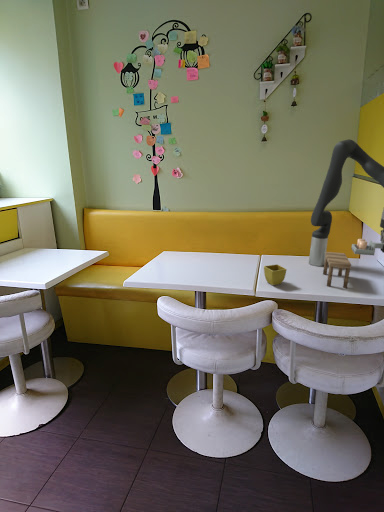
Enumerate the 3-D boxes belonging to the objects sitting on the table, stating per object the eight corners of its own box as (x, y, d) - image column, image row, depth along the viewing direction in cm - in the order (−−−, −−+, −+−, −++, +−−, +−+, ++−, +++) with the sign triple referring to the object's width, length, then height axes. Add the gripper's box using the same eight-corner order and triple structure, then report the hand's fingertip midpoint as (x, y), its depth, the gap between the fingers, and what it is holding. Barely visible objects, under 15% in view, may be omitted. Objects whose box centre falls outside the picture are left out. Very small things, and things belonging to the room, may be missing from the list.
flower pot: (262, 281, 185) (263, 265, 182) (276, 279, 188) (277, 264, 185) (271, 287, 177) (272, 271, 174) (285, 285, 180) (287, 269, 177)
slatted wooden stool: (322, 273, 197) (325, 251, 193) (341, 275, 195) (344, 253, 191) (326, 286, 179) (330, 262, 175) (347, 288, 177) (351, 264, 173)
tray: (351, 248, 185) (353, 237, 183) (386, 251, 181) (388, 240, 179) (354, 253, 175) (356, 242, 174) (391, 256, 171) (393, 245, 170)
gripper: (377, 215, 178) (372, 247, 184) (385, 220, 166) (379, 254, 171) (393, 216, 177) (387, 248, 182) (402, 221, 164) (395, 256, 169)
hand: (383, 251), depth 176 cm, fingers closed on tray, 2 cm apart
